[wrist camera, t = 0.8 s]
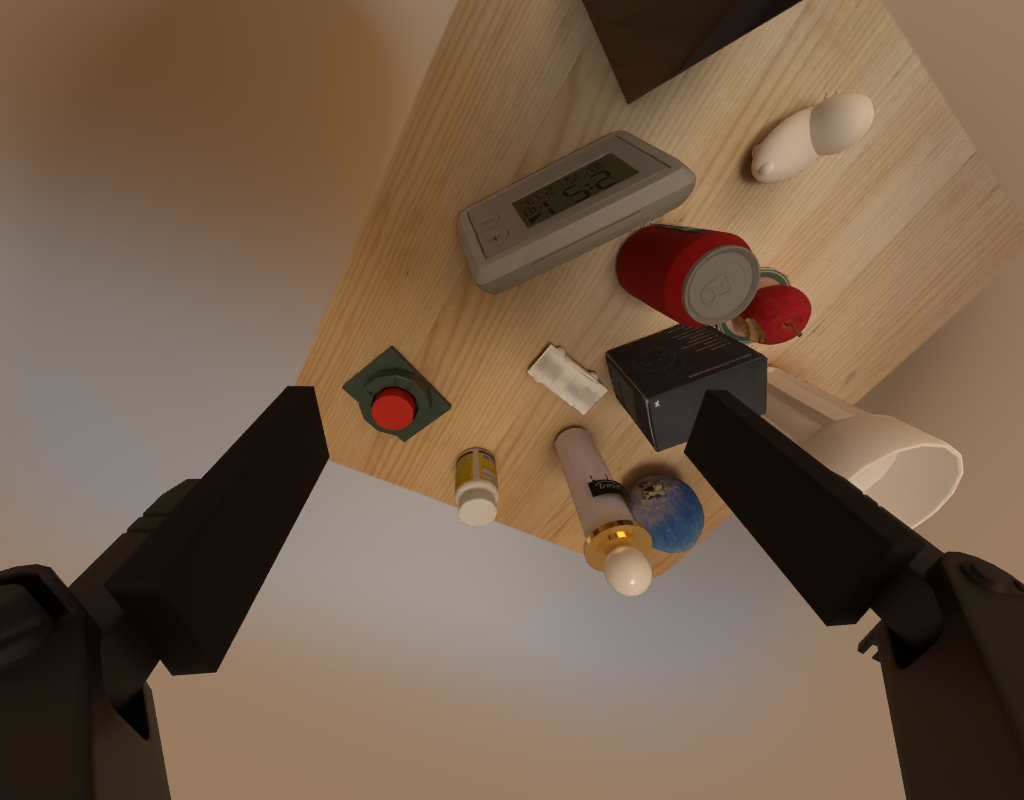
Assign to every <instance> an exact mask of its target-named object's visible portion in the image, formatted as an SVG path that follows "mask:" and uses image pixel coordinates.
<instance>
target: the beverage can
mask: <svg viewBox="0 0 1024 800" xmlns="http://www.w3.org/2000/svg"><path fill="white" fill-rule="evenodd" d="M618 275H619V279H620V282H621V284H622V286H623V287H624V289H625V290H626V291H627V292H628V293H630V294H631V295H633V296H634V297H636V298H637V299H639V300H641V301H642V302H644V303H646V304H647V305H649V306H651V307H652V308H654V309H656V310H657V311H659V312H661V313H662V314H664V315H666V316H668V317H669V318H671V319H673V320H675V321H677V322H678V323H680V324H682V325H685V326H688V327H706V326H710V325H718V324H722V323H725V322H727V321H729V320H731V319H733V318H735V317H736V316H738V315H739V314H740V313H741V312H742V311H744V310H745V309H746V307H747V306H748V305H749V304H750V302H751V301H752V299H753V298H754V296H755V294H756V292H757V289H758V287H759V283H760V275H761V272H760V265H759V262H758V260H757V258H756V256H755V255H754V254H753V253H752V251H751V249H750V248H749V246H748V245H747V243H746V242H745V241H744V240H743V239H741V238H740V237H738V236H736V235H734V234H731V233H726V232H720V231H713V230H706V229H698V228H690V227H682V226H673V225H663V224H656V225H650V226H647V227H645V228H643V229H641V230H639V231H638V232H637V233H635V234H634V235H633V236H632V237H631V238H630V239H629V240H628V242H627V243H626V244H625V246H624V248H623V250H622V252H621V254H620V258H619V262H618Z"/></svg>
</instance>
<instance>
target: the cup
mask: <svg viewBox="0 0 1024 800" xmlns="http://www.w3.org/2000/svg"><path fill="white" fill-rule="evenodd" d="M767 367H768V368H767V405H766V413H765V414H764V415H761V417H762V418H763V419H765V420H766V421H767V422H769V423H770V424H771V425H773V426H774V427H775V428H776V429H778V430H779V431H780V432H782V433H783V434H784V435H785V436H787V437H788V438H789V439H791V440H792V441H793V442H795V443H796V444H797V445H798V446H800V447H801V448H802V449H804V450H805V451H806V452H807V453H809V454H810V455H811V456H813V457H814V458H815V459H817V460H818V461H819V462H820V463H822V464H823V465H824V466H826V467H827V468H828V469H829V470H831V471H833V472H835V473H837V474H839V475H840V476H842V477H844V478H846V479H847V480H848V481H850V482H851V483H852V484H853V485H855V486H856V487H857V488H859V489H860V490H861V491H863V494H864V495H865V494H867V495H868V496H869V497H871V498H872V499H873V500H874V501H876V502H877V503H878V506H882V507H884V508H885V509H886V510H888V511H889V512H890V513H891V514H893V515H894V516H895V517H897V518H898V519H899V520H901V521H902V522H903V523H905V524H906V525H907V526H909V527H910V528H911V529H913V528H915V527H916V526H918V525H919V524H920V523H922V522H923V521H925V520H926V519H927V518H929V517H930V516H932V515H933V514H935V513H936V512H937V511H938V510H939V509H940V508H941V507H942V505H943V504H944V503H945V502H946V501H947V500H948V499H949V497H950V496H951V495H952V494H953V493H954V492H955V490H956V488H957V486H958V483H959V481H960V479H961V477H962V475H963V473H964V471H963V463H962V455H961V454H960V453H959V452H958V451H956V450H955V449H954V448H953V447H951V446H950V445H949V444H948V443H946V442H944V441H942V440H940V439H938V438H936V437H933V436H931V435H929V434H927V433H925V432H923V431H921V430H919V429H917V428H915V427H913V426H910V425H908V424H906V423H904V422H902V421H900V420H898V419H896V418H893V417H891V416H886V415H873V414H869V413H867V412H865V411H863V410H861V409H859V408H857V407H855V406H853V405H851V404H849V403H847V402H845V401H843V400H841V399H839V398H837V397H835V396H833V395H831V394H829V393H827V392H825V391H823V390H821V389H819V388H817V387H815V386H813V385H811V384H809V383H807V382H805V381H803V380H801V379H799V378H797V377H795V376H793V375H791V374H789V373H787V372H785V371H783V370H781V369H779V368H776V367H774V366H773V365H767Z"/></svg>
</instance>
